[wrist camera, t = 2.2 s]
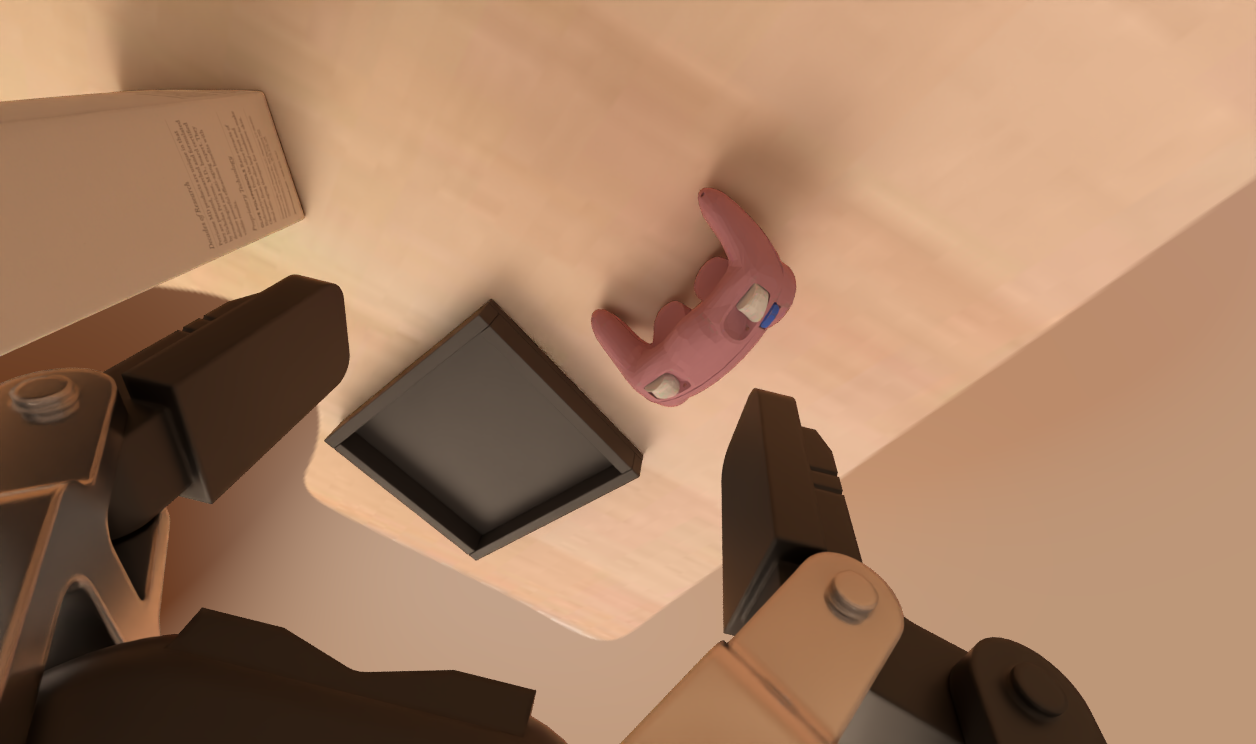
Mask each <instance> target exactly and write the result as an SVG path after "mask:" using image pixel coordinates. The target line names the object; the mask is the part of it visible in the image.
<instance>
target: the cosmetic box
mask: <svg viewBox="0 0 1256 744" xmlns="http://www.w3.org/2000/svg"><path fill="white" fill-rule="evenodd" d="M303 219H304V213H303V210H302V207H301V204H300V201H299V198H298V195H297V192H296V189H295V186H294V183H293V180H292V177H291V174H290V172H289V169H288V166H287V163H286V160H285V156H284V153H283V150H282V147H281V144H280V141H279V138H278V135H277V132H276V129H275V126H274V123H273V120H272V117H271V114H270V111H269V108H268V105H267V102H266V99H265V96H264V94H263V92H261V91H252V90H137V91H120V92H110V93H98V94H85V95H73V96H61V97H49V98H38V99H26V100H15V101H4V102H0V356H2V355H4V354H6V353H8V352H10V351H13V350H15V349H17V348H19V347H21V346H24V345H26V344H28V343H30V342H33V341H35V340H37V339H39V338H41V337H44V336H46V335H48V334H50V333H53V332H55V331H57V330H59V329H62V328H64V327H66V326H68V325H71V324H72V323H75V322H77V321H79V320H81V319H83V318H86V317H88V316H90V315H92V314H95V313H97V312H99V311H101V310H104V309H106V308H108V307H111V306H113V305H115V304H117V303H119V302H122V301H123V300H126V299H128V298H130V297H132V296H134V295H137V294H139V293H141V292H144V291H146V290H148V289H150V288H153V287H155V286H157V285H160V284H162V283H164V282H166V281H168V280H170V279H173V278H175V277H177V276H180V275H182V274H184V273H186V272H188V271H191V270H193V269H195V268H197V267H199V266H201V265H204V264H206V263H208V262H210V261H212V260H215V259H217V258H219V257H221V256H224V255H226V254H228V253H230V252H233V251H235V250H237V249H239V248H241V247H244V246H246V245H248V244H250V243H253V242H255V241H257V240H259V239H261V238H263V237H266V236H268V235H270V234H272V233H275V232H277V231H279V230H282V229H284V228H286V227H288V226H290V225H292V224H295V223H297V222H299V221H301V220H303Z"/></svg>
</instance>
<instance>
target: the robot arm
mask: <svg viewBox="0 0 1256 744" xmlns="http://www.w3.org/2000/svg"><path fill="white" fill-rule="evenodd" d="M349 356H350V354H349V343H348V334H347V324H346V314H345V305H344V297H343V293H342V290H341V289H340V287H339V286H338V285H336V284H333V283H329V282H325V281H321V280H317V279H313V278H309V277H305V276H301V275H290V276H288V277H286V278H284V279H283V280H281V281H279V282H278V283H276V284H274V285H272V286H271V287H269V288H267V289H266V290H264V291H262V292H260V293H257V294H253V295H250V296H246V297H243V298H239V299H236V300H232V301H229V302H227V303H225V304H223V305H222V306H220V307H218V308H216V309H214V310H213V311H211V312H209V313H207V314H206V315H204V318H203V319H200V318H198V319H197V320H195V321H193V322H191V323H190V324H188V325H186V326H185V327H183V330H182V331H180V330H177V331H175V332H174V333H172V334H170V335H168V336H167V337H165V338H163V339H161V340H159V341H158V342H156V343H154V344H153V345H151V346H149V347H147V348H145V349H143V350H142V351H140V352H138V353H136V354H135V355H133V356H131V357H129V358H128V359H126V360H124V361H122V362H120V363H119V364H117V365H115V366H113V367H112V368H110V369H108V370H106V371H104V372H100V371H96V370H92V369H84V368H60V369H51V370H44V371H39V372H34V373H30V374H26V375H23V376H19V377H16V378H13V379H10V380H8V381H6V382H3V383H1V384H0V744H567V743H566V742H565V740H564V739H562V738H561V737H560V736H559V735H558V734H556V733H555V732H554V731H553V730H552V729H550V728H549V727H548V726H547V725H545V724H543V723H542V722H540V721H538V720H537V719H535V718H534V717H532V716H531V713H532V708H533V704H534V699H535V694H536V690H532V689H528V688H524V687H520V686H516V685H512V684H508V683H504V682H500V681H496V680H492V679H488V678H484V677H480V676H476V675H472V674H468V673H464V672H460V671H455V670H440V671H439V670H436V671H398V672H397V671H396V672H359V671H355V670H352V669H350V668H348V667H346V666H345V665H343V664H341V663H340V662H338V661H337V660H335V659H333V658H332V657H330V656H329V655H327V654H325V653H324V652H322V651H320V650H319V649H317V648H316V647H314V646H312V645H311V644H309V643H308V642H306V641H304V640H303V639H301V638H299V637H298V636H296V635H295V634H293V633H291V632H290V631H288V630H287V629H285V628H282V627H278V626H274V625H270V624H266V623H262V622H258V621H254V620H250V619H246V618H242V617H238V616H234V615H230V614H226V613H222V612H218V611H214V610H210V609H206V608H201V609H200V611H199V612H198V613H197V614H196V615H195V616H194V617H193V618H192V620H191V621H190V622H189V623H188V624H187V625H186V626H185V628H184V629H183V630H182V631H181V632H180V633H179V634H171V635H163V636H161V632H160V620H159V619H160V606H161V597H162V588H163V580H164V571H165V562H166V552H167V544H168V535H169V526H170V516H169V514H168V511H167V508H166V506H168V505H169V504H170V503H171V502H172V501H173V500H174V499H175V498H177V497H178V496H181V497H185V498H189V499H193V500H197V501H201V502H205V503H209V504H213V503H214V502H215V501H216V500H217V499H218V498H219V497H220V496H221V495H222V494H223V493H224V492H225V491H226V490H228V488H230V487H231V486H232V485H233V484H234V483H235V482H236V481H237V480H238V479H239V478H240V477H241V476H242V475H243V474H244V473H245V472H247V471H248V470H249V469H250V468H251V467H252V466H253V465H254V464H255V463H256V462H257V461H258V460H259V459H260V458H261V457H262V456H263V455H264V454H265V453H267V452H268V451H269V450H270V449H271V448H272V447H273V446H274V445H275V444H276V443H277V442H278V441H279V440H280V439H281V438H282V437H283V436H285V434H287V433H288V432H289V431H290V430H291V429H292V428H293V427H294V426H295V425H296V424H297V423H298V422H299V421H300V420H301V419H302V418H304V416H306V415H307V414H308V413H309V412H310V411H311V410H312V409H313V408H314V407H315V406H316V405H317V404H318V403H319V402H320V401H321V400H323V399H324V398H325V397H326V396H327V395H328V394H329V393H330V392H331V391H332V390H333V389H334V388H335V387H336V386H337V385H338V384H339V383H340V382H341V380H342V379H343V377H344V375H345V373H346V371H347V368H348V364H349ZM837 473H838V472H837V468H836V465H835V461H834V457H833V454H832V451H831V449H830V448H829V447H828V446H827V444H826V443H825V442H824V440H823V439H822V438H821V436H820V435H819V434H818V432H817V431H816V430H814V429H809V428H805V427H801V424H800V419H799V414H798V410H797V405H796V401H795V399H794V398H793V397H790V396H786V395H781V394H777V393H773V392H769V391H765V390H761V389H757V388H754V389H753V390H752V392H751V393H750V395H749V397H748V399H747V402H746V404H745V407H744V409H743V412H742V414H741V417H740V419H739V422H738V424H737V427H736V429H735V431H734V434H733V436H732V439H731V441H730V444H729V446H728V449H727V452H726V455H725V459H724V464H723V469H722V480H721V483H722V554H723V620H724V621H723V622H724V623H723V624H724V633H725V634H730V635H733V636H734V637H733V638H732V639H731V640H730V641H729V642H728V643H726V642H725V641H720V642H719V643H717V644H716V645H715V646H714V647H713V648H712V649H711V650H710V651H709V652H708V653H707V654H706V655H705V656H704V657H703V658H702V659H701V660H700V661H699V662H698V663H697V664H696V665H695V666H694V667H693V668H692V669H691V670H690V671H689V672H688V674H687V675H685V676H684V678H683V679H682V680H681V681H680V682H679V683H678V684H677V685H676V686H675V687H674V688H673V689H672V690H671V691H670V692H669V693H668V694H667V695H666V696H665V697H664V698H663V700H662V701H661V702H660V703H659V704H658V705H657V706H656V707H655V708H654V709H653V710H652V711H651V712H650V713H649V714H648V715H647V716H646V717H645V718H644V719H643V720H642V721H641V722H640V723H639V725H638V726H637V727H636V728H635V729H634V730H633V731H632V732H631V733H630V734H629V735H628V736H627V737H626V738H625V739H624V740H623V741H622V742H621V743H620V744H1107V743H1106V741H1105V739H1104V737H1103V735H1102V733H1101V731H1100V729H1099V727H1098V725H1097V723H1096V721H1095V719H1094V717H1093V715H1092V713H1091V711H1090V709H1089V707H1088V706H1087V704H1086V702H1085V701H1084V699H1083V698H1082V696H1081V695H1080V693H1079V692H1078V691H1077V689H1076V688H1075V687H1074V686H1073V685H1072V683H1071V682H1070V681H1069V680H1068V679H1067V678H1066V677H1065V676H1064V675H1063V674H1062V673H1061V672H1060V671H1059V670H1058V669H1057V668H1056V667H1055V666H1053V665H1052V664H1051V663H1050V662H1049V661H1047V660H1046V659H1045V658H1043V657H1042V656H1041V655H1039V654H1038V653H1036V652H1034V651H1033V650H1031V649H1029V648H1028V647H1026V646H1024V645H1021V644H1019V643H1017V642H1014V641H1011V640H1008V639H1004V638H996V637H992V638H985V639H983V640H981V641H979V642H978V643H977V644H976V645H975V646H974V647H973V648H972V649H971V650H970V651H969V652H967V651H965V650H963V649H961V648H959V647H957V646H955V645H954V644H952V643H950V642H948V641H946V640H944V639H942V638H940V637H938V636H937V635H935V634H933V633H931V632H929V631H927V630H925V629H923V628H921V627H920V626H918V625H916V624H914V623H913V622H911V621H909V620H908V619H906V618H905V617H904V615H903V611H902V608H901V606H900V604H899V601H898V599H897V597H896V596H895V594H894V592H893V591H892V589H891V588H890V587H889V586H888V584H887V583H886V582H885V581H884V580H883V579H882V578H881V577H880V576H879V575H878V574H876V572H874V571H873V570H872V569H871V568H869V567H868V566H866V565H865V564H863V563H862V559H861V555H860V552H859V548H858V544H857V541H856V537H855V534H854V530H853V526H852V523H851V519H850V516H849V512H848V508H847V505H846V501H845V497H844V495H842V491H843V490H842V487H841V483H840V479H839V477H837Z"/></svg>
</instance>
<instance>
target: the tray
mask: <svg viewBox="0 0 1256 744" xmlns="http://www.w3.org/2000/svg"><path fill="white" fill-rule="evenodd" d="M324 441H325V442H326V443H327V444H328V445H330V446H331V447H332V448H334V449H335V450H336V451H337V452H339V453H340V454H341V455H342V456H344V457H345V458H346V459H347V460H349V461H350V462H351V463H353V464H354V465H355V466H356V467H358V468H359V469H360V470H361V471H363V472H364V473H365V474H366V475H368V476H369V477H370V478H372V479H373V480H374V481H375V482H377V483H378V484H379V485H380V486H382V487H383V488H384V489H386V490H387V491H388V492H389V493H391V494H392V495H393V496H394V497H396V498H397V499H398V500H399V501H401V502H402V503H403V504H405V505H406V506H407V507H408V508H410V509H411V510H412V511H413V512H415V513H416V514H417V515H418V516H420V517H421V518H422V519H424V520H425V521H426V522H427V523H429V524H430V525H431V526H432V527H434V528H435V529H436V530H438V531H439V532H440V533H441V534H443V535H444V536H445V537H446V538H448V539H449V540H450V541H451V542H453V543H454V544H455V545H457V546H458V547H459V548H460V549H462V550H463V551H464V552H465V553H467V554H469V556H471V557H472V558H473V559H475V560H478V559H480V558H482V557H484V556H486V555H488V554H490V553H492V552H494V551H496V550H498V549H500V548H502V547H504V546H506V545H508V544H510V543H512V542H513V541H515V540H517V539H519V538H521V537H523V536H525V535H527V534H529V533H531V532H533V531H535V530H537V529H539V528H541V527H543V526H545V525H547V524H549V523H550V522H552V521H554V520H556V519H558V518H560V517H562V516H564V515H566V514H568V513H570V512H572V511H574V510H576V509H578V508H580V507H582V506H584V505H586V504H588V503H589V502H591V501H593V500H595V499H597V498H599V497H601V496H603V495H605V494H607V493H609V492H611V491H613V490H615V489H617V488H619V487H621V486H623V485H625V484H627V483H628V482H630V481H632V480H634V479H636V478H638V477H639V476H640V471H641V465H642V460H643V455H642V454H641V453H640V452H639V451H638V450H637V449H636V448H635V447H634V446H633V445H632V444H631V443H630V442H629V440H628V439H627V438H626V437H625V436H624V435H623V434H622V433H621V432H620V431H619V430H618V429H617V428H616V427H615V426H614V425H613V424H612V423H611V422H610V421H609V420H608V419H607V418H606V417H605V416H604V415H603V414H602V413H601V412H600V411H599V410H598V408H597V407H596V406H595V405H594V404H593V403H592V402H591V401H590V400H589V399H588V398H587V397H586V396H585V395H584V394H583V393H582V392H581V391H580V390H579V389H578V388H577V387H576V386H575V385H574V384H573V383H572V382H571V381H570V380H569V379H568V377H567V376H566V375H565V374H564V373H563V372H562V371H561V370H560V369H559V368H558V367H557V366H556V365H555V364H554V363H553V362H552V361H551V360H550V359H549V358H548V357H547V356H546V355H545V354H544V353H543V352H542V351H541V350H540V349H539V348H538V347H537V345H536V344H535V343H534V342H533V341H532V340H531V339H530V338H529V337H528V336H527V335H526V334H525V333H524V332H523V331H522V330H521V329H520V328H519V327H518V326H517V325H516V324H515V323H514V322H513V321H512V320H511V319H510V318H509V317H508V316H507V315H506V313H505V312H504V311H503V310H502V309H501V308H500V307H499V306H498V305H497V304H496V303H495V302H494V301H493V300H492V299H491V300H489V301H488V302H487V303H486V304H485V305H483V306H482V307H481V308H480V309H478V310H477V311H476V312H475V313H474V314H472V315H471V316H470V317H469V318H468V319H466V320H465V321H464V322H463V323H461V324H460V325H459V326H458V327H457V328H455V329H454V330H453V331H452V332H450V333H449V334H448V335H447V336H446V337H444V338H443V339H442V340H441V341H439V342H438V343H437V344H436V345H435V346H433V347H432V348H431V349H430V350H429V351H427V352H426V353H425V354H424V355H422V356H421V357H420V358H419V359H418V360H416V361H415V362H414V363H413V364H411V365H410V366H409V367H408V368H407V369H405V370H404V371H403V372H402V373H401V374H399V375H398V376H397V377H396V378H394V379H393V380H392V381H391V382H390V383H388V384H387V385H386V386H385V387H383V388H382V389H381V390H380V391H379V392H377V393H376V394H375V395H374V396H373V397H371V398H370V399H369V400H368V401H366V402H365V403H364V404H363V405H362V406H360V407H359V408H358V409H357V410H355V411H354V412H353V413H352V414H351V415H349V416H348V417H347V418H346V419H344V420H343V421H342V422H341V423H340V424H339V425H338V426H337V427H336V428H335V429H334V430H333V431H332V433H331V434H330V435H329V436H328V437H327V438H326V439H325V440H324Z"/></svg>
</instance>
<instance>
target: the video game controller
mask: <svg viewBox="0 0 1256 744" xmlns="http://www.w3.org/2000/svg"><path fill="white" fill-rule="evenodd" d="M698 201H699V206H700V209H701V212H702V215H703V217H704V218H705V220H706V221H707V223H708V224H709V226H710V227H711V229H712V230H713V232H714V233H715V235H716V236H717V238H718V239H719V241H720V243H721V245H722V247H723V249H724V251H725V253H726V255H727V258H728V260H727V259H724V258H722V257H714V258H712V259H710V260H708V261H707V262H706V263H705V264H704V265H703V266H702V268H701V269H700V271H699V272H698V274H697V276H696V279H695V283H694V290H695V293H696V295H697V297H698V298H699V299H701V300H703V301H702V302H701V303H700V304H699V305H698V306H696V307H695V308H694V309H693V310H692V309H690V308H688V307H687V306H685V305H684V304H682V303H680V302H678V301H672V302H669V303H668V304H666V305H665V306H664V307H663V308H662V309H661V310H660V311H659V312H658V314H657V317H656V319H655V323H654V336H653V343H651V344H649V343H647V342H645V341H644V340H642V339H640V338H639V337H638V336H637V335H636V334H635V333H634V332H633V331H632V330H631V329H630V328H629V326H628V325H627V324H626V323H624V322H623V321H622V320H621V319H619V318H618V317H617V316H616V315H614V314H612V313H610V312H608V311H607V310H604V309H598V310H595V311H594V312H593V313H592V317H591V324H592V329H593V332H594V334H595V336H596V338H597V340H598V341H599V343H600V344H601V346H602V347H603V348H604V350H605V351H606V353H607V354H608V355H609V357H610V358H611V359H612V361H613V362H614V364H615V365H616V366H617V368H618V369H619V371H620V372H621V373H622V375H623V376H624V377H625V379H626V380H627V381H628V383H629V384H630V385H631V386H632V387H633V388H634V389H635V390H636V391H637V392H638V393H640V394H641V395H642V396H644V397H645V398H646V399H648V400H649V401H651V402H654V403H657V404H660V405H663V406H667V407H674V406H678V405H680V404H682V403H684V402H685V401H686V400H687V399H688V398H689V397H691V396H694V395H696V394H698V393H700V392H701V391H703V390H705V389H707V388H708V387H709V386H711V385H712V384H714V383H715V382H717V381H718V380H719V379H721V378H722V377H723V376H724V375H726V374H727V373H728V372H729V371H730V370H732V369H733V368H734V367H735V366H736V365H737V364H738V363H739V362H740V361H741V360H742V359H743V358H744V357H745V356H746V355H747V354H748V352H749V351H750V350H751V349H752V348H753V347H754V346H755V345H756V343H757V342H758V341H759V339H760V338H761V337H762V335H763V334H764V333H765V331H766V330H767V328H769V327H771V326H773V325H774V324H776V323H778V322H779V321H780V320H781V319H782V318H783V317H784V315H785V314H786V313H787V311H788V310H789V308H790V306H791V305H792V303H793V300H794V297H795V292H796V280H795V276H794V274H793V272H792V270H791V269H790V268H789V267H788V266H787V265H786V264H784V263H783V262H782V261H781V260H780V258H779V256H778V254H777V252H776V250H775V248H774V247H773V245H772V244H771V242H770V241H769V239H768V238H767V236H766V235H765V233H764V232H763V231H762V230H761V228H760V227H759V226H758V225H757V224H756V223H755V222H754V220H753V219H752V218H751V217H750V216H749V215H748V214H747V213H746V212H745V211H744V210H743V209H742V208H741V207H740V206H739V205H738V204H737V203H735V202H734V201H733V200H732V199H731V198H730V197H728V196H727V195H726V194H725V193H723V192H721V191H719V190H716V189H713V188H703V189H702V190H700V192H699V193H698Z"/></svg>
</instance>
